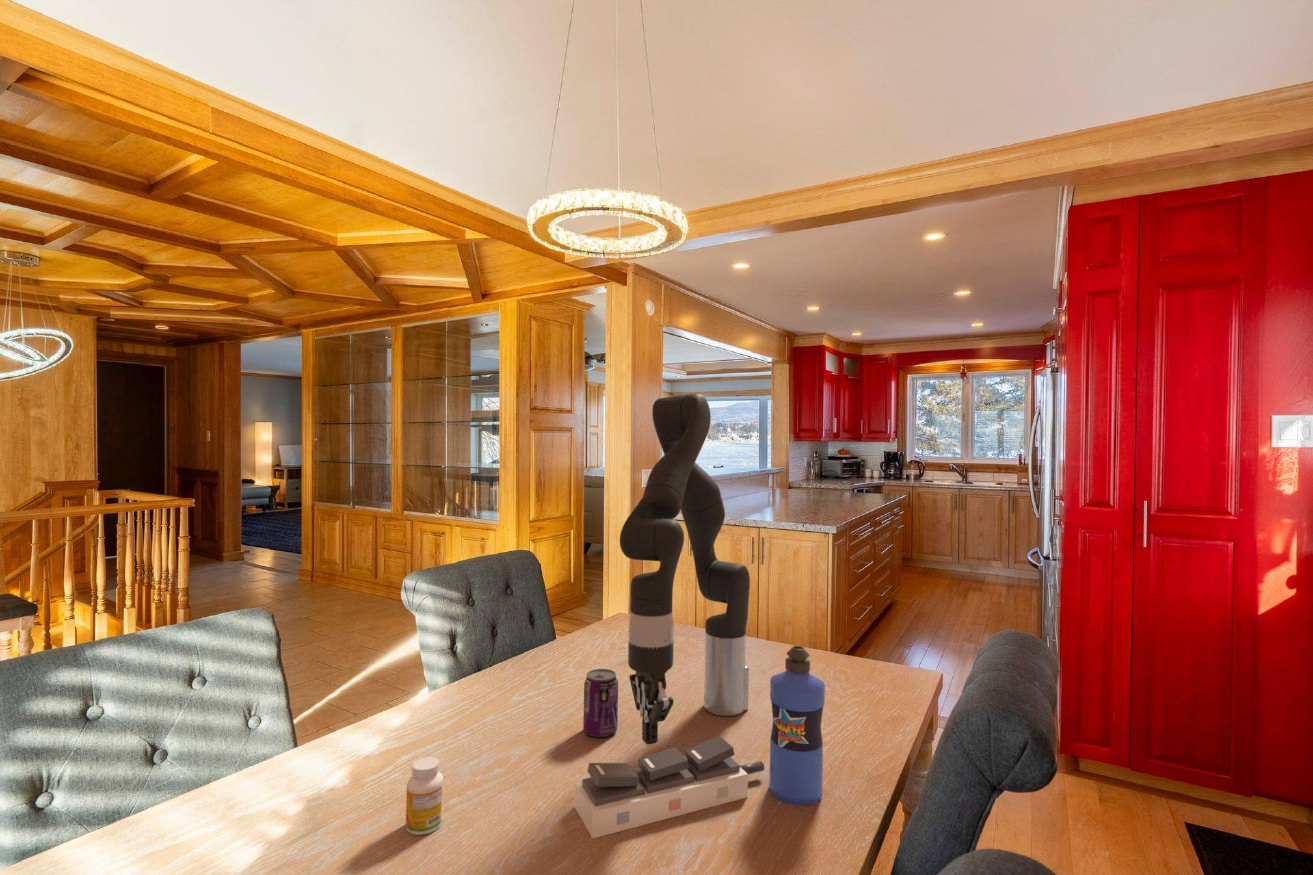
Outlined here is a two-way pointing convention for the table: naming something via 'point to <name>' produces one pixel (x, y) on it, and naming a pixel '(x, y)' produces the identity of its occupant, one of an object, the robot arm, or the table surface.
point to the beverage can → (600, 703)
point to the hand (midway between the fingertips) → (649, 741)
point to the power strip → (660, 796)
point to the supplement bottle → (424, 797)
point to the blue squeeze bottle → (796, 732)
